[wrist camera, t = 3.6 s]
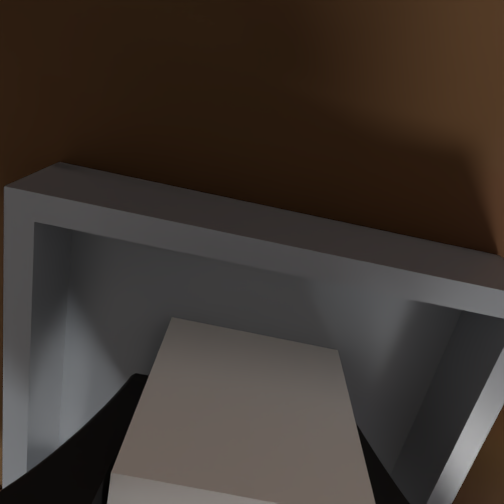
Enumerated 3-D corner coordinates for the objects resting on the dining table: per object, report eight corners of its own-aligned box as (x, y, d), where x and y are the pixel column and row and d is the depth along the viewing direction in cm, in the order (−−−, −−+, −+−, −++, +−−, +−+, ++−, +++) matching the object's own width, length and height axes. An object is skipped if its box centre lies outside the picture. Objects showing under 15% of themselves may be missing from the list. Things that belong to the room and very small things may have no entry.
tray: (499, 255, 12) (556, 301, 9) (367, 549, 16) (384, 632, 13) (59, 161, 11) (4, 185, 9) (42, 490, 15) (2, 566, 13)
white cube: (338, 350, 12) (380, 522, 8) (297, 472, 14) (311, 674, 9) (171, 316, 12) (110, 472, 7) (150, 445, 14) (90, 638, 9)
